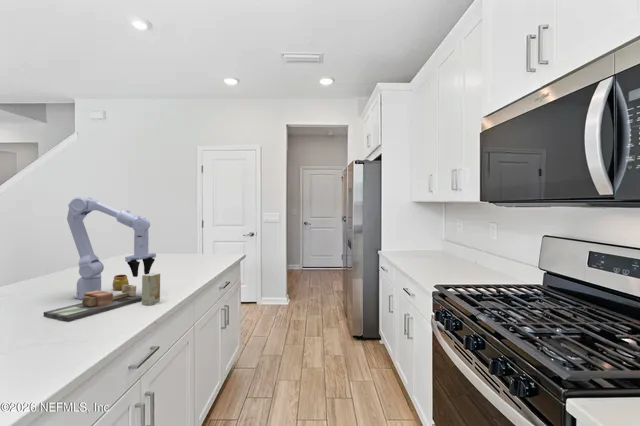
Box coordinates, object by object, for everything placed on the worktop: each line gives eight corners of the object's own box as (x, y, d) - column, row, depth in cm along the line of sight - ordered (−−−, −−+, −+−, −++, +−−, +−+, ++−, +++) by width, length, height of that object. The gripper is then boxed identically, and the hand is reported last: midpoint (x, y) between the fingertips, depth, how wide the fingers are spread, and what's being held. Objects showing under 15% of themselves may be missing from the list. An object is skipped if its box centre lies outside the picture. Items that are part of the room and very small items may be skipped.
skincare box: (150, 305, 144) (150, 275, 144) (141, 304, 145) (141, 275, 144) (160, 301, 150) (160, 273, 150) (151, 300, 151) (151, 272, 151)
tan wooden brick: (81, 304, 136) (81, 294, 136) (126, 293, 154) (126, 284, 154) (91, 306, 134) (91, 296, 134) (136, 295, 152) (136, 285, 152)
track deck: (43, 316, 128) (43, 300, 128) (121, 296, 157) (122, 283, 157) (68, 321, 122) (68, 304, 122) (144, 300, 152) (144, 286, 151)
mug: (128, 290, 169) (129, 276, 169) (112, 291, 166) (112, 277, 166) (128, 285, 180) (128, 272, 180) (112, 286, 176) (113, 272, 176)
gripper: (133, 247, 149) (133, 279, 149) (160, 244, 163) (160, 273, 163) (121, 246, 152) (121, 277, 152) (149, 243, 165) (149, 272, 166)
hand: (141, 275), depth 158 cm, fingers open, 5 cm apart
